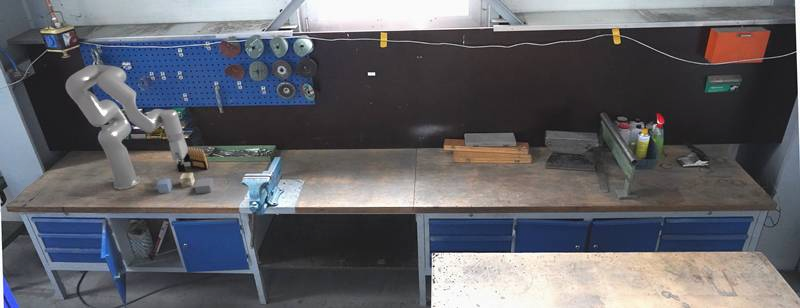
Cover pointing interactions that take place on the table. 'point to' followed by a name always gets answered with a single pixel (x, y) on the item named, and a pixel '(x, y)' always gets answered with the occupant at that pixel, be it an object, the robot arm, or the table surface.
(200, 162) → the ammunition clip
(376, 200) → the table surface
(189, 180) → the maple cube
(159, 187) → the blue cube
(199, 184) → the base block
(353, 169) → the table surface
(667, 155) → the table surface
